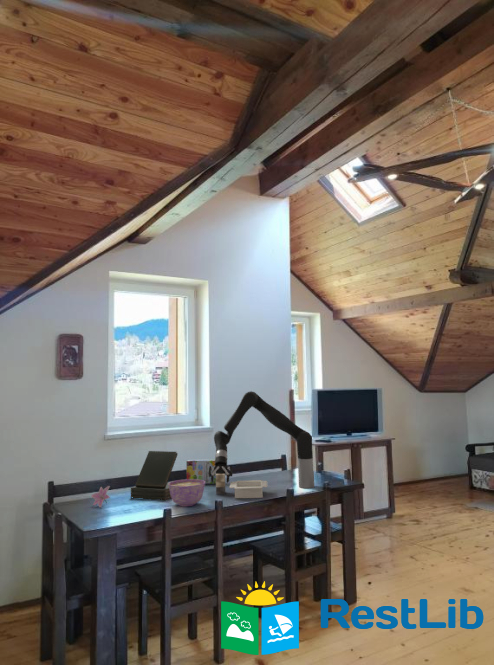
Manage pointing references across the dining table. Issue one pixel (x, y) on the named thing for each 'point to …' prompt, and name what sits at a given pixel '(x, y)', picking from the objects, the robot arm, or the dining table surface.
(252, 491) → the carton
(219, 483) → the block
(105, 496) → the lily
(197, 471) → the snack box
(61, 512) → the dining table surface
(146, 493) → the tilted panel on base
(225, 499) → the dining table surface
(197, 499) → the bowl of food
